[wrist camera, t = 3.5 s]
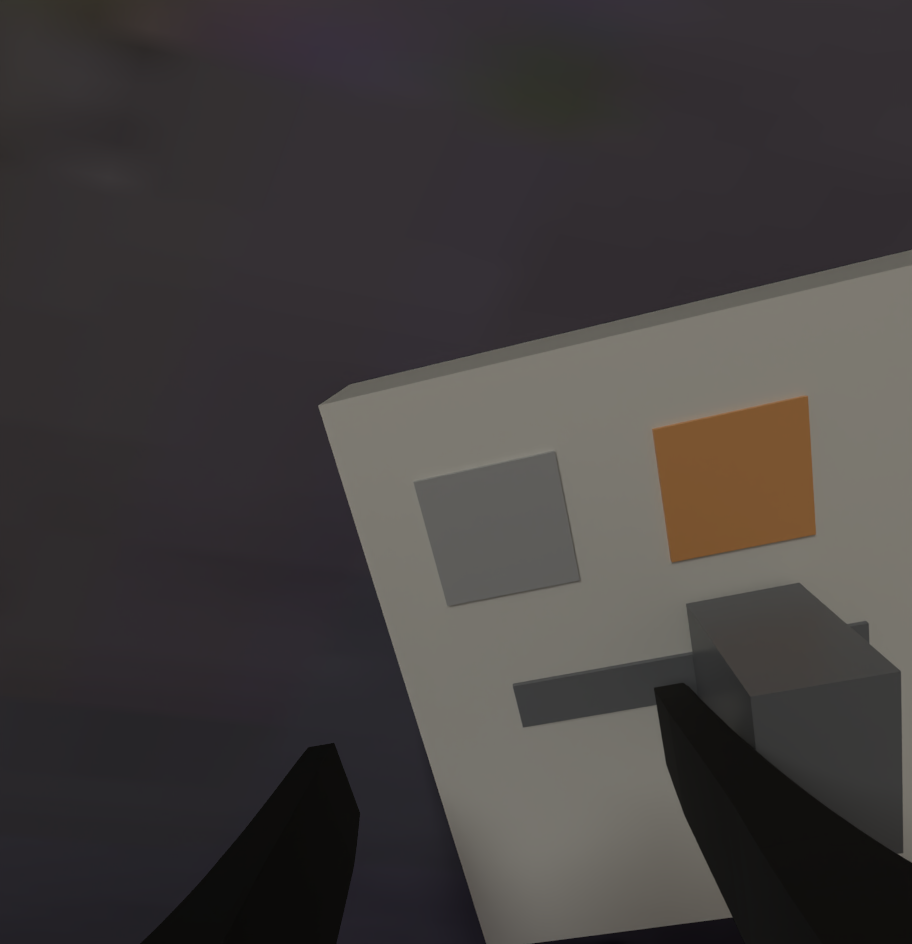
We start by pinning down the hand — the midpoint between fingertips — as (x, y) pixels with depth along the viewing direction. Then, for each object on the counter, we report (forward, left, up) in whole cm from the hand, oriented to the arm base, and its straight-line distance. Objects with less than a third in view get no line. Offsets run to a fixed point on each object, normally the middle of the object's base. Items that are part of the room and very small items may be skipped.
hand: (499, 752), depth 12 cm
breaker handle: (0, -6, -1) cm, 6 cm away
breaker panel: (0, -5, -4) cm, 7 cm away
